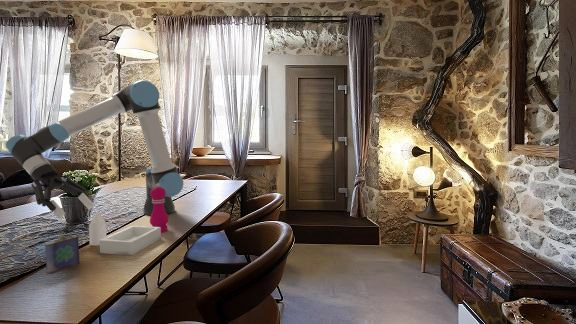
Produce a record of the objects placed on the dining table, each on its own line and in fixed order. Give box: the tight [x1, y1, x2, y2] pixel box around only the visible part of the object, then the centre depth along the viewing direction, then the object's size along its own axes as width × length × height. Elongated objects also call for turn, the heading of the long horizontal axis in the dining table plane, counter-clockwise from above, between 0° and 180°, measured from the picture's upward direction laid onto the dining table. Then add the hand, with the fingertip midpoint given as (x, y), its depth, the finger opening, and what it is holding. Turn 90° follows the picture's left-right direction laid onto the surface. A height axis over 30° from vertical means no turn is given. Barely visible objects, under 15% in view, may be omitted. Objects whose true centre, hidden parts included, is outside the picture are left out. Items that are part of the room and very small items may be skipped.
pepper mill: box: [149, 183, 169, 234], centre depth 140 cm, size 7×7×20 cm
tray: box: [99, 225, 162, 256], centre depth 123 cm, size 18×12×4 cm, turn 170°
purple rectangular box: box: [44, 232, 80, 275], centre depth 103 cm, size 9×3×11 cm, turn 151°
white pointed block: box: [88, 211, 107, 246], centre depth 125 cm, size 6×12×6 cm
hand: (77, 211), depth 125 cm, fingers open, 13 cm apart
